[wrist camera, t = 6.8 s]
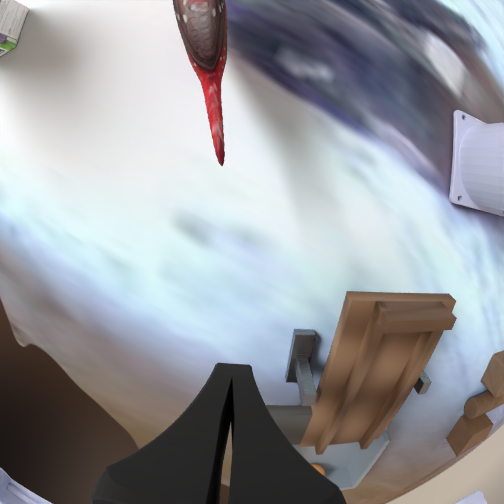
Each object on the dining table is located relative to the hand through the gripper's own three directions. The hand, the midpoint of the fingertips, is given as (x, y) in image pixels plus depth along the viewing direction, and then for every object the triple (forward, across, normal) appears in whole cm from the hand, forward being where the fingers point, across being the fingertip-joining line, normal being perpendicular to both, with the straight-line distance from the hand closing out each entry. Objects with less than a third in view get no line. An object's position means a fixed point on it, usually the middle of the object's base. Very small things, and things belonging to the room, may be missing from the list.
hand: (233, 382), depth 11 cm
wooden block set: (+11, -40, +17) cm, 45 cm away
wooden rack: (+6, -8, +6) cm, 12 cm away
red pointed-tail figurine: (+11, +3, -17) cm, 20 cm away
